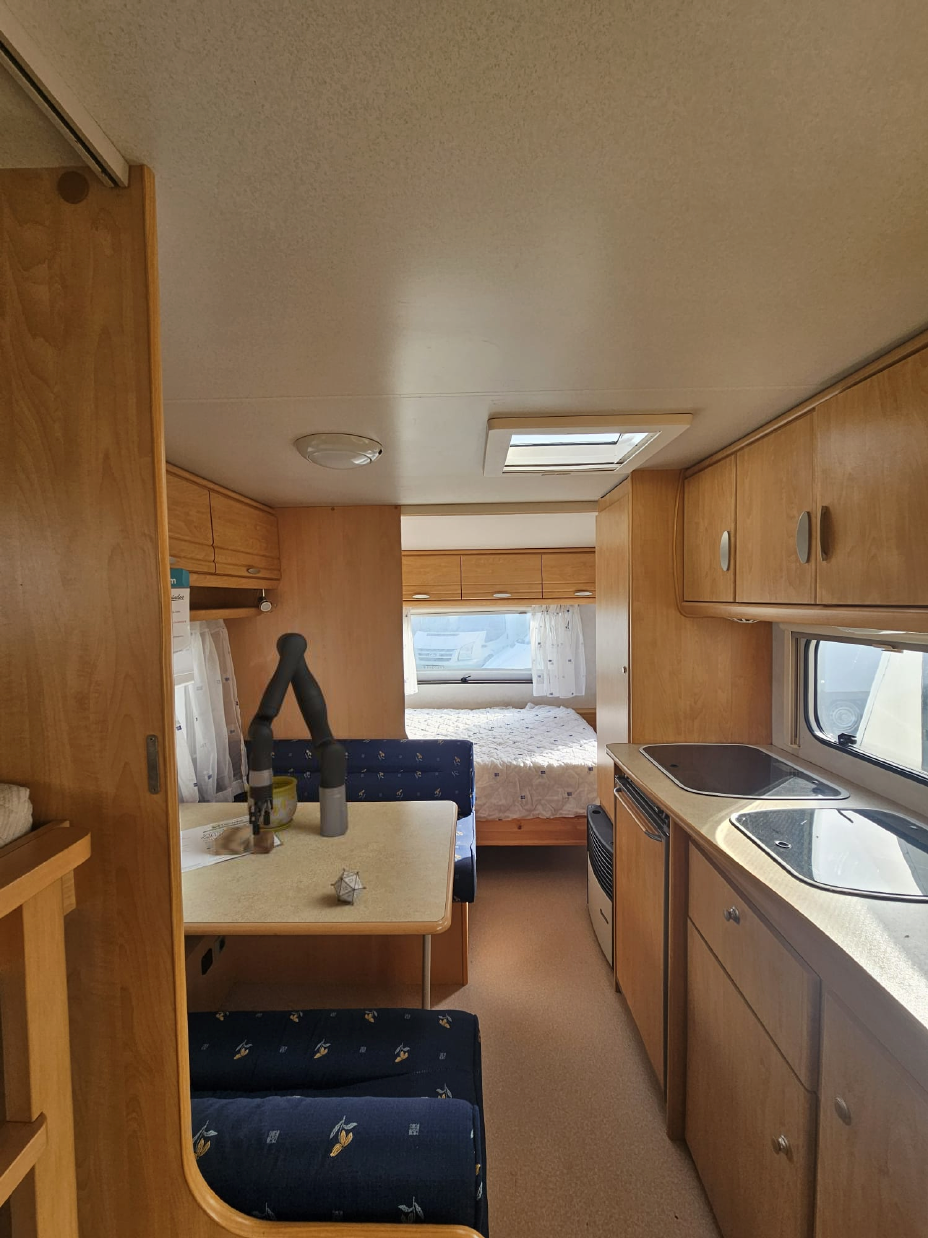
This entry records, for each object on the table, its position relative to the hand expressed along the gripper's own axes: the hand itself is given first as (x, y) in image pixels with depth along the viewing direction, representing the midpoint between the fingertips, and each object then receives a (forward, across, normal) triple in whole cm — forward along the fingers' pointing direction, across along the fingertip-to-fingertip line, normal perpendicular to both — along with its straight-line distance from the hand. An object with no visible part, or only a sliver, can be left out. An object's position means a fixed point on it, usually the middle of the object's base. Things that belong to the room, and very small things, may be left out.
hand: (261, 830), depth 176 cm
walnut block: (+7, 0, -1) cm, 7 cm away
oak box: (+8, +2, +10) cm, 13 cm away
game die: (+7, -33, -38) cm, 50 cm away
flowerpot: (+7, +21, +4) cm, 23 cm away
